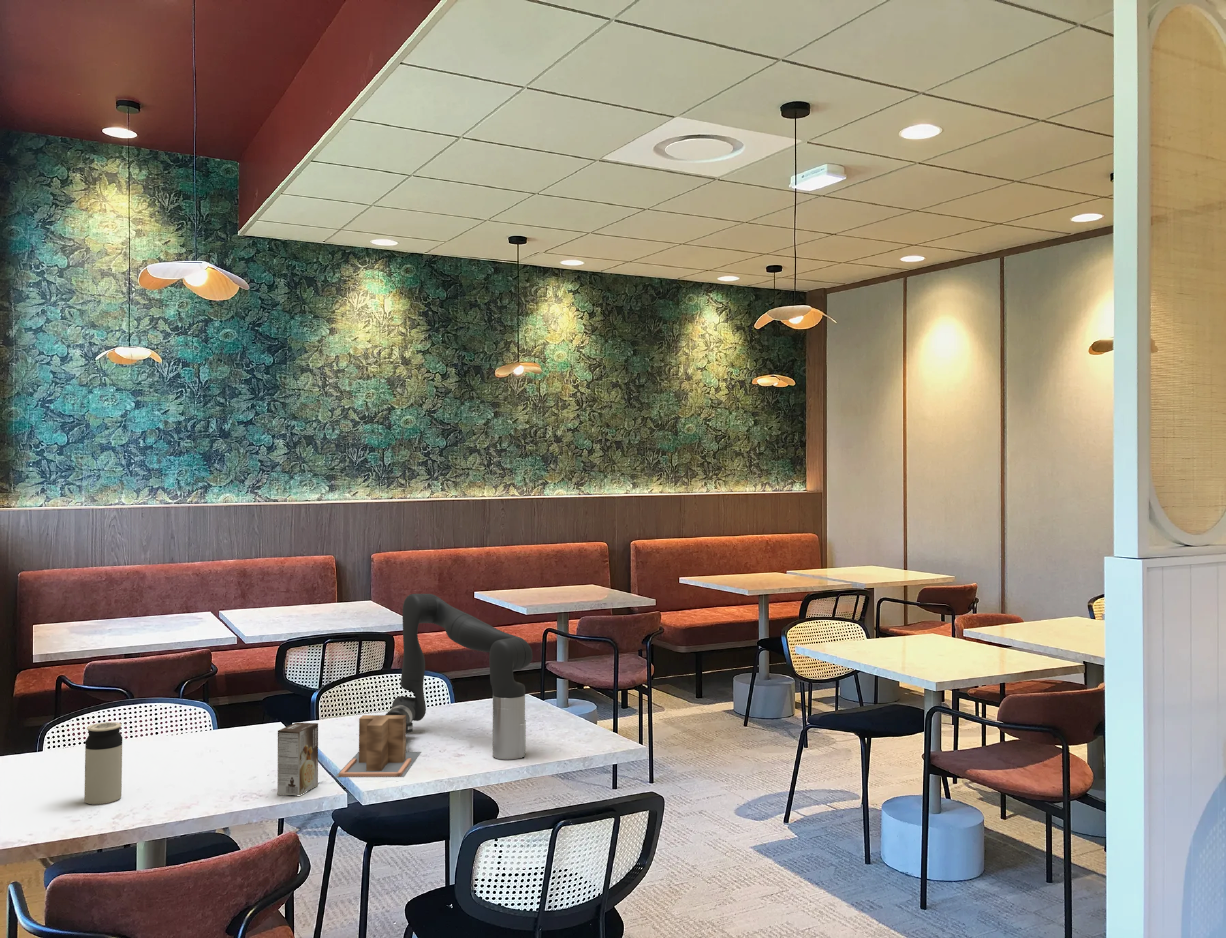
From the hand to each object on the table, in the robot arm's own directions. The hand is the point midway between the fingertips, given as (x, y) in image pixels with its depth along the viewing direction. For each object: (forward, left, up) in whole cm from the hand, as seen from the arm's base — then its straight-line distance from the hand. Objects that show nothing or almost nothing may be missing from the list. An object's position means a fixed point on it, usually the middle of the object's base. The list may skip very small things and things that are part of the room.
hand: (384, 734), depth 267 cm
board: (0, +5, -8) cm, 9 cm away
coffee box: (+16, +26, -8) cm, 31 cm away
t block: (0, +6, -7) cm, 9 cm away
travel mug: (+61, +33, -8) cm, 70 cm away
